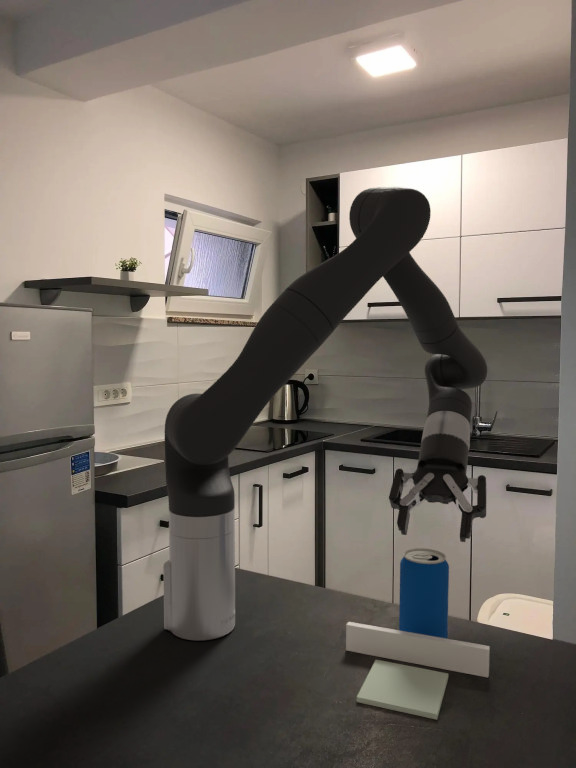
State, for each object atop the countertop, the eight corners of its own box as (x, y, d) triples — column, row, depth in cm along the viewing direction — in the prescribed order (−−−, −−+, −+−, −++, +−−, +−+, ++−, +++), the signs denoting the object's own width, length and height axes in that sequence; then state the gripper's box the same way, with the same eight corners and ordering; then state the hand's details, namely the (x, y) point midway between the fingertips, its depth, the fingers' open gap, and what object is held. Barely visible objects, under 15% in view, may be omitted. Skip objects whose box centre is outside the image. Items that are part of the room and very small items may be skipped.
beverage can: (448, 654, 83) (450, 565, 82) (398, 649, 84) (399, 561, 83) (446, 632, 89) (448, 548, 88) (399, 628, 90) (400, 545, 89)
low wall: (346, 650, 84) (346, 624, 83) (348, 646, 85) (348, 621, 84) (488, 677, 77) (488, 649, 77) (488, 673, 78) (489, 646, 78)
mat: (356, 702, 72) (356, 696, 72) (375, 664, 80) (375, 659, 80) (437, 719, 68) (437, 714, 68) (448, 678, 77) (448, 673, 77)
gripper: (397, 429, 102) (380, 517, 92) (490, 434, 97) (482, 528, 87) (403, 456, 107) (388, 542, 97) (491, 462, 102) (484, 554, 92)
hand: (432, 535), depth 92 cm, fingers open, 8 cm apart
